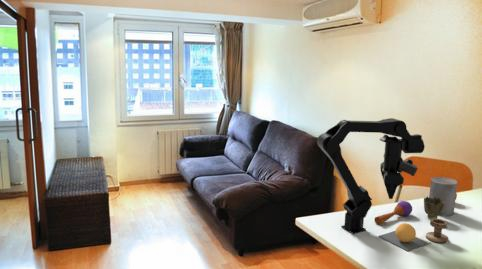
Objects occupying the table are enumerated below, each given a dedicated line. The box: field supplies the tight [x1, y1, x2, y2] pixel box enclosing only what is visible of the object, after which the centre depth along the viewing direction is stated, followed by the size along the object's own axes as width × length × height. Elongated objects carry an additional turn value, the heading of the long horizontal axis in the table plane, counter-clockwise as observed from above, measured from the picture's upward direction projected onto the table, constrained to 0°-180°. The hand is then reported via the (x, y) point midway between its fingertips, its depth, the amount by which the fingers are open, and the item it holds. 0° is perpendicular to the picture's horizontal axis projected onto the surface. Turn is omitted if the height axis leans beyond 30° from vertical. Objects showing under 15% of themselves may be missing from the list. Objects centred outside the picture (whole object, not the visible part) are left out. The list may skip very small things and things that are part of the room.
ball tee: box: [425, 218, 449, 245], centre depth 134 cm, size 7×7×6 cm
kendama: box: [374, 200, 413, 226], centre depth 152 cm, size 6×6×20 cm
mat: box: [378, 230, 432, 252], centre depth 134 cm, size 12×12×1 cm
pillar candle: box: [428, 176, 458, 217], centre depth 158 cm, size 10×10×15 cm
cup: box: [423, 196, 445, 220], centre depth 152 cm, size 8×7×8 cm
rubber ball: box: [395, 222, 417, 242], centre depth 131 cm, size 6×6×6 cm
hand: (389, 194), depth 141 cm, fingers open, 9 cm apart
